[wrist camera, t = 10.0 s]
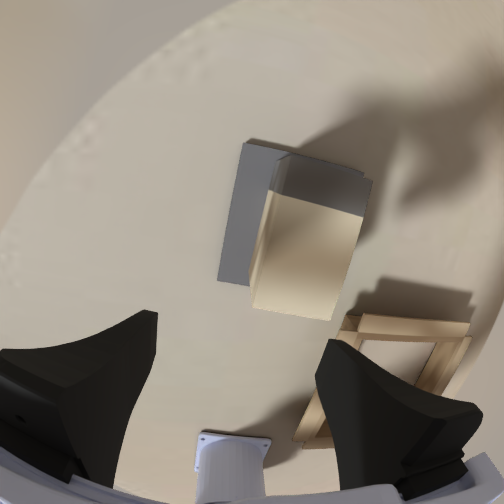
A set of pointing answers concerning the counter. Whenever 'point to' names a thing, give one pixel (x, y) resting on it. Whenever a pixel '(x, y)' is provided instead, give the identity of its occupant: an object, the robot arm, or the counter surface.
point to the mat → (251, 208)
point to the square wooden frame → (392, 329)
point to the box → (306, 237)
